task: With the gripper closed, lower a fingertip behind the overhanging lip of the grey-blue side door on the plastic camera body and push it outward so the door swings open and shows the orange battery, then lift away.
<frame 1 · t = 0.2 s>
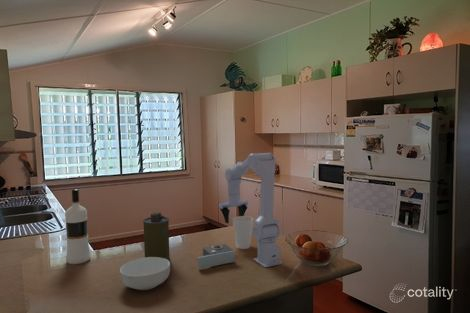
hand: (234, 221, 160), 10 cm above the counter, tool pointing down, fingers open, 7 cm apart
foam cup: (243, 247, 155), on the counter
vodka: (78, 261, 141), on the counter
cereal bowl: (146, 285, 118), on the counter
canister: (157, 261, 139), on the counter
camera body: (218, 260, 139), on the counter
side door: (216, 259, 133), point 3 cm above the counter, hinge at 0.0°
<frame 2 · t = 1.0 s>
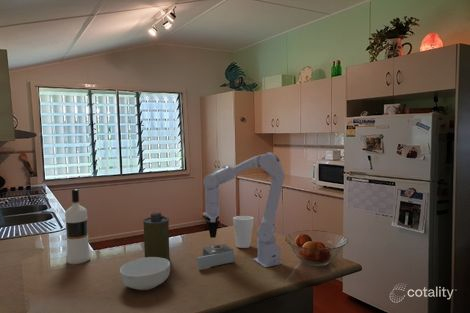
hand: (212, 234, 142), 10 cm above the counter, tool pointing down, fingers open, 7 cm apart
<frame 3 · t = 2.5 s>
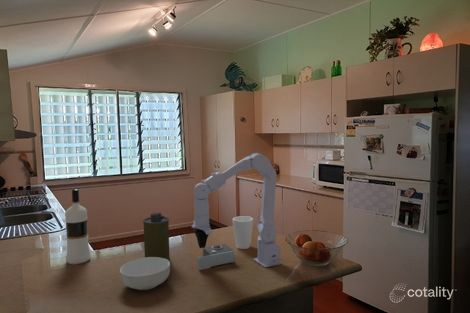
hand: (202, 247, 135), 7 cm above the counter, tool pointing down, fingers closed
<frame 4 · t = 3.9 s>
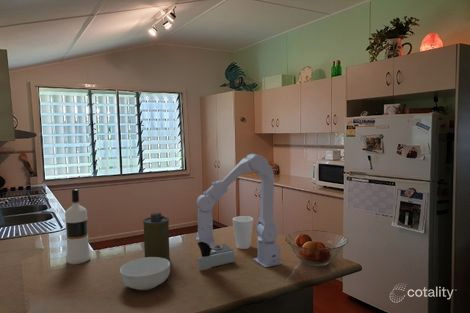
hand: (205, 260, 132), 3 cm above the counter, tool pointing down, fingers closed
side door: (216, 259, 133), point 3 cm above the counter, hinge at 2.6°, touching gripper
everything else where it was.
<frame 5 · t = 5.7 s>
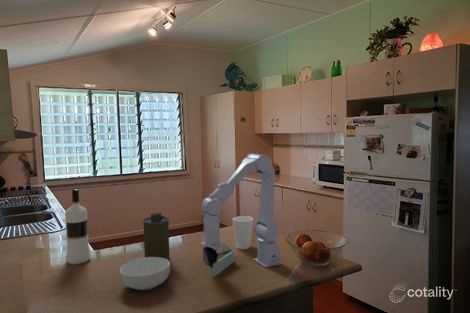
hand: (212, 266, 126), 3 cm above the counter, tool pointing down, fingers closed
side door: (224, 262, 130), point 3 cm above the counter, hinge at 35.4°, touching gripper
everything else where it was.
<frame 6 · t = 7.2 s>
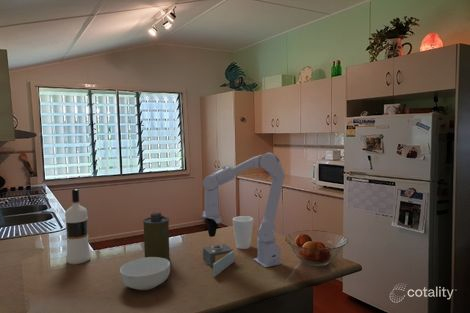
hand: (212, 236, 141), 9 cm above the counter, tool pointing down, fingers closed
side door: (224, 262, 130), point 3 cm above the counter, hinge at 35.6°
everything else where it was.
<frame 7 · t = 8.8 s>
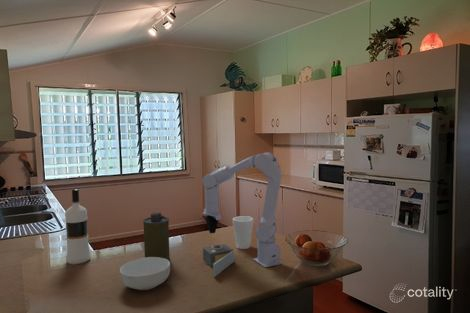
hand: (212, 232, 146), 9 cm above the counter, tool pointing down, fingers closed
nothing on the counter moved.
at the end: side door at +36° (first picture: +0°); foam cup moved 0.2 cm from its start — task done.
